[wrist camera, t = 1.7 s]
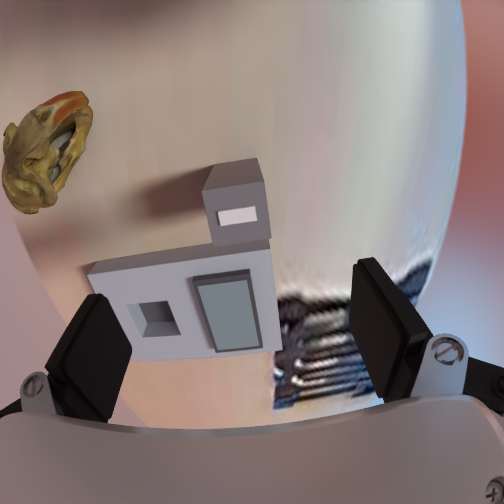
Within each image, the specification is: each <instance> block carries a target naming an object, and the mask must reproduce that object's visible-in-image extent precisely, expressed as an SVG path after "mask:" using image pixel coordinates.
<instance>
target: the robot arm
mask: <svg viewBox="0 0 504 504" xmlns="http://www.w3.org/2000/svg"><path fill="white" fill-rule="evenodd" d="M349 327H350V330H351V332H352V335H353V337H354V339H355V342H356V344H357V347H358V349H359V351H360V354H361V356H362V359H363V361H364V364H365V366H366V369H367V371H368V374H369V376H370V379H371V381H372V384H373V386H374V389H375V392H376V394H377V396H378V398H383V400H384V404H380V405H376V406H373V407H368V408H364V409H360V410H356V411H351V412H347V413H342V414H337V415H332V416H327V417H321V418H316V419H310V420H304V421H298V422H291V423H283V424H275V425H266V426H256V427H243V428H226V429H165V428H148V427H135V426H124V425H116V424H108V419H110V418H111V417H112V414H113V411H114V407H115V404H116V401H117V397H118V394H119V391H120V388H121V385H122V382H123V379H124V375H125V372H126V369H127V366H128V364H129V361H130V358H131V355H132V345H131V343H130V341H129V340H128V338H127V336H126V334H125V332H124V330H123V328H122V326H121V324H120V322H119V320H118V319H117V317H116V315H115V312H114V310H113V308H112V306H111V304H110V302H109V300H108V298H107V297H105V296H104V295H103V294H101V293H97V294H89V295H88V296H87V297H86V298H85V300H84V301H83V303H82V304H81V306H80V307H79V309H78V311H77V312H76V314H75V315H74V317H73V319H72V320H71V322H70V323H69V325H68V327H67V328H66V330H65V332H64V333H63V335H62V337H61V338H60V340H59V342H58V344H57V345H56V347H55V349H54V350H53V352H52V354H51V356H50V358H49V360H48V362H47V363H46V365H45V368H46V370H47V371H48V372H49V374H48V376H47V375H45V373H43V372H34V373H32V374H30V375H29V376H28V377H27V378H26V379H25V380H24V381H23V383H22V385H21V388H20V396H21V398H20V399H18V400H16V401H15V402H13V403H12V404H10V405H9V406H7V407H5V408H4V409H2V410H1V411H0V504H504V368H502V367H499V366H496V365H493V364H490V363H487V362H484V361H480V360H478V359H475V358H471V357H469V355H468V349H467V346H466V344H465V343H464V342H463V341H462V340H461V339H460V338H458V337H457V336H454V335H452V334H445V333H444V334H438V335H436V336H433V334H432V333H431V331H430V330H429V328H428V327H427V325H426V324H425V322H424V321H423V319H422V318H421V316H420V315H419V313H418V312H417V311H416V309H415V308H414V306H413V305H412V304H411V302H410V301H409V299H408V298H407V297H406V295H405V294H404V293H403V291H402V290H401V289H398V288H397V287H396V285H395V284H394V283H393V281H392V280H391V279H390V277H389V276H388V275H387V273H386V272H385V271H384V269H383V268H382V267H381V265H380V264H379V263H378V262H377V260H376V259H375V258H374V257H371V258H364V259H359V260H358V262H357V264H354V265H353V275H352V290H351V303H350V314H349Z"/></svg>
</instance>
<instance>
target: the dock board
mask: <svg viewBox="0 0 504 504" xmlns="http://www.w3.org/2000/svg"><path fill="white" fill-rule="evenodd" d="M87 276H88V279H89V281H90V283H91V285H92V287H93V289H94V291H95V294H97V293H101V294H103V295H104V296H105V297H107V298H108V300H109V302H110V304H111V306H112V308H113V310H114V312H115V315H116V317H117V319H118V320H119V322H120V324H121V326H122V328H123V330H124V332H125V334H126V336H127V338H128V340H129V341H130V343H131V345H132V355H131V359H132V361H161V360H184V359H201V358H214V357H226V356H236V355H245V354H254V353H262V352H270V351H278V350H282V341H281V333H280V324H279V315H278V307H277V298H276V290H275V282H274V274H273V266H272V258H271V250H270V244H269V239H262V240H255V241H248V242H241V243H235V244H228V245H221V246H213V243H211V244H204V245H198V246H191V247H184V248H178V249H171V250H165V251H159V252H152V253H146V254H140V255H134V256H127V257H121V258H115V259H109V260H103V261H97V263H96V264H95V265H94V266H93V268H92V269H91V270H90V272H89V273H88V274H87Z"/></svg>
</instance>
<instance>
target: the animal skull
mask: <svg viewBox="0 0 504 504" xmlns="http://www.w3.org/2000/svg"><path fill="white" fill-rule="evenodd" d="M88 103H89V100H88V98H87V97H86V96H85V95H84V93H83V92H82V91H70V92H66V93H63V94H59V95H57V96H55V97H54V98H52V99H50V100H49V101H47V102H45V103H43V104H41V105H39V106H38V107H36V108H35V109H34V110H32V111H30V112H29V113H28V114H27V115H26V116H25V117H24V118H23V120H22V121H21V123H20V125H19V126H18V127H17V126H15V124H14V123H13V122H12V123H10V124H9V125H8V126H7V128H6V130H5V132H4V135H3V136H5V138H4V142H3V151H4V154H5V161H4V165H3V169H2V184H3V188H4V190H5V193H6V195H7V197H8V199H9V200H10V202H11V204H12V205H13V206H14V207H15V208H16V209H18V210H19V211H21V212H23V213H25V214H35V213H38V210H39V208H40V207H43V208H47V207H50V206H53V205H54V204H55V203H56V201H57V198H58V196H57V192H59V191H60V190H61V189H62V188H63V187H64V186H65V182H66V179H67V177H68V175H69V173H70V171H71V169H72V168H73V166H74V165H75V163H76V162H77V161H78V159H79V158H80V156H81V154H82V153H83V151H84V150H85V141H86V137H87V135H88V132H89V130H90V127H91V125H92V120H93V111H92V109H91V108H90V106H88ZM75 111H76V112H75ZM73 112H75V113H73ZM72 113H73V114H72ZM75 128H76V130H75V133H74V134H73V136H72V138H71V139H70V140H69V141H67V142H66V143H64V144H63V145H62V146H61V147H60V148H58V149H54V148H53V147H51V146H50V143H51V142H52V141H53V140H54V139H55V138H57V137H58V136H60V135H62V134H63V133H65V132H67V131H68V130H70V129H75ZM57 164H59V165H60V167H61V171H60V173H59V176H58V178H57V179H56V180H55V182H54V183H53V185H52V183H51V182H50V180H49V179H50V177H51V176H52V174H53V171H52V169H53V168H54V167H56V166H57Z"/></svg>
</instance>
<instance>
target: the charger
mask: <svg viewBox="0 0 504 504" xmlns="http://www.w3.org/2000/svg"><path fill="white" fill-rule="evenodd" d="M202 196H203V201H204V206H205V210H206V215H207V219H208V224H209V228H210V233H211V237H212V242H213V246H221V245H228V244H235V243H241V242H248V241H255V240H262V239H269V238H271V230H270V222H269V214H268V207H267V199H266V192H265V184H264V179H263V176H262V173H261V169H260V166H259V163H258V160H257V158H253V159H246V160H240V161H233V162H227V163H221V164H215V165H214V166H213V168H212V170H211V173H210V175H209V177H208V179H207V181H206V183H205V185H204V187H203V189H202Z"/></svg>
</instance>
